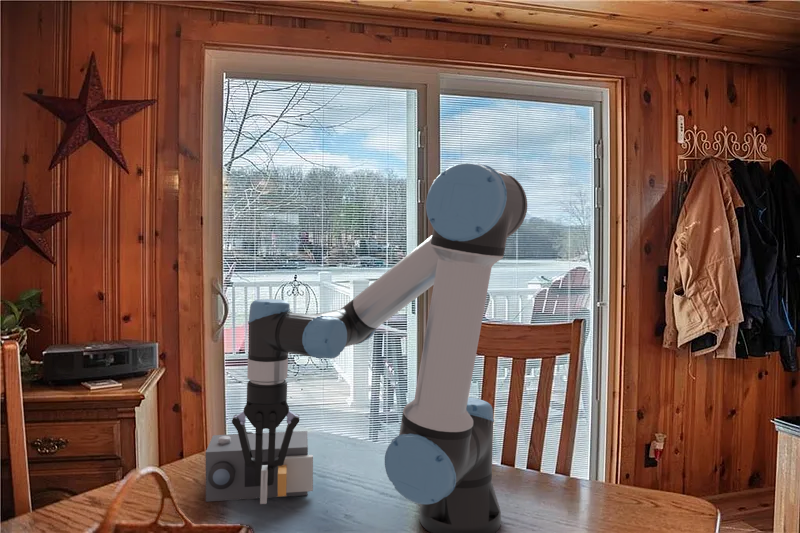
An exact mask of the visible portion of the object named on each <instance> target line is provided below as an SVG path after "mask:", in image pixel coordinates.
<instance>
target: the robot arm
mask: <svg viewBox="0 0 800 533" xmlns="http://www.w3.org/2000/svg"><path fill="white" fill-rule="evenodd" d="M427 192H428V193H427V196H426V200H425V209H426V217H427V219H428V221H429V223H430V224H431V227H432V233H431V235H430V236H429V237H428V238H426V239H425V240H424V241H423V242H422V243H420V244H419V245H418V246H417V247H415V248H414V249H413V250H412V251H411V252H409V253H408V254H407V255H405V257H403V258H402V259H400V261H398V262H397V263H395V265H393V266H392V267H391V268H389V269H388V270H387V271H386V272H384V273H383V274H382V275H381V276H380V277H378V278H377V279H376V280H375V281H373V283H371V284H369V286H367V287H366V288H365V289H364V290H363V291H361V292H360V293H359V294H358V295H356V296H355V297H354V298H353V299H352V300H350V301H349V302H348V303H347V304H345V305H344V306H343V307H341V308H339V309H335V310H329V311H324V312H319V313H311V314H309V313H300V312H299V313H298V312H297V313H296V312H292V311H291V309H290V308H291V306H290V302H289V301H288V300H286V299H281V298H279V299H278V298H275V299H274V298H263V299H262V298H260V299H256V300H253V301H252V302H251V303H250V306H249V313H248V314H249V315H248V316H249V317H248V321H247V323H248V324H247V325H248V355H247V372H246V374H247V375H246V376H247V379H248V381H247V383H246V404H245V406H244V408H243V411H241V412H240V413H238V414H234V415H233V417H232V419H231V424H232V425H233V426H234V428H235V429H236V430H237V434H238V435H239V439H240V444H241V448H242V452H243V456H244V460H245V464H246V466H247V467H253V468H254V469H255V485H261V494H260V498H259V505H267V503H268V498H267V494H268V485H273V482H274V468H275V467H277V466H282V465H283V464H284V460H285V457H286V453H287V450H288V447H289V443H290V440H291V436H292V433H293V432H294V429H295V428H296V427H297V426H298V424H299V423H300V414H299V413H294V412H293V411H291V410H290V407H289V406H290V405H288V382H287V380H286V379H287V378H288V373H289V372H288V370H289V369H288V366H289V354H294V355H301V356H307V357H312V358H316V359H335V358H337V357H339V356H340V355H341V352H343V351H344V350H345V348H346V347H349V346H354V345H358V344H359V345H360V344H362V343H364V342H365V341H367V340H369V339H370V338H372V337H373V336H374V334H375V333H376V329H377V328H379V327H380V326H381V325H383V324H384V323H385V322H387V321H388V320H390V319H391V318H392V317H393V316H395V315H396V314H397V313H399V312H401V310H402V309H404V308H405V307H407V305H409V304H411V303H412V302H413V301H415V300H416V299H417V298H418V297H419V296H421V295H422V294H424V293H425V292H427V290H429V289H430V288H432V287H433V288H432V292H431V299H430V304H429V311H428V317H427V322H426V329H425V333H424V334H425V335H424V341H423V346H422V353H421V357H420V364H419V371H418V374H417V375H418V377H417V382H416V388H415V394H414V399H413V400H412V401H409V403H407V404H406V405H405V406H404V407H403V410H402V416H401V422H400V428H399V433H398V435H397V436H396V437H394V438H393V439H392V440H391V442H390V443H389V445H388V446H387V448H386V451H385V454H384V468H385V472H386V476H387V477H388V480H389V482H391V483H392V485H393V486H394V489H395V490H396V491H397V493H399V495H401V496H402V497H403V498H404V499H406V500H408V501H410V502H413V503H415V504H419V522H420V525H421V526H422V527H423V528H424V529H425V530H426V531H428V532H430V533H497V532H498V530H500V527H501V522H502V513H501V512H502V511H501V507H500V504H499V500H498V497H497V494H496V492H495V491H496V490H495V488H494V483H493V477H492V476H493V445H494V444H493V442H494V441H493V440H494V438H493V437H494V423H495V419H494V410H493V406H492V404H491V403H489V402H488V401H486V400H483V399H479V398H475V397H469V396H470V390H471V384H472V380H473V373H474V368H475V363H476V357H477V351H478V347H479V346H478V345H479V342H480V341H479V340H480V335H481V329H482V324H483V318H484V312H485V306H486V302H487V296H488V289H489V286H490V285H489V284H490V279H491V273H492V267H493V266H494V265H495V264H496V263H498V262H499V261H501V260H502V259H503V258H504V257H505V250H506V245H507V239H508V238H509V237H510V236H512V235H513V234H515V233H516V232H517V231H518V230H519V228H520V227H521V226H522V224H523V223H524V221H525V218H526V217H527V213H528V199H527V194H526V192H525V190H524V187H523V185H522V184H521V182H520V181H518V180H517V179H516V178H515V177H513V176H512V175H510V174H509V173H506V172H504V171H499V170H497V169H495V168H493V167H491V166H489V165H486V164H481V163H473V162H472V163H471V162H465V163H458V164H455V165H454V164H453V165H452V166H450V167H448V168H446V169H445V170H443V172H441V173H439V175H437V177H436V178H435V179H434V180H433V182H432V183H431V186H430V187H429V189H428V191H427ZM246 418H247V419H248V421H249V423H250V425H252V427H253V428H255V433H256V444H255V458H253V457H252V452H251V448H250V444H249V440H248V436H247V432H248V431H247V428H246V421H247V420H246ZM285 418H286V424H287V425H286V429H285V431H284V432H285V435H284V438H283V442H282V445H281V448H280V452H279V455H278V457H277V458H275V438H276V432H277V428H278V427H279V426H280V424H282V422H284V420H285ZM264 429H267V430H268V433H269V444H268V465H262V454H263V433H264Z"/></svg>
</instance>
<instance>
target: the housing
mask: <svg viewBox="0 0 800 533" xmlns="http://www.w3.org/2000/svg"><path fill="white" fill-rule="evenodd" d="M284 435H285V431H279V432H277V431H276V438H275V458H277V457H278V455H279V452H280V448H281V445H282V442H283V438H284ZM247 436H248V440H249V444H250V448H251V452H252V457H253V458H255V444H256V432H252V434H247ZM308 440H309V439H308V431H307V430H301V431H293V433H292V436H291V440H290V443H289V447H288V450H287V453H286V456H299V455H309V454H308V452H309V451H308V450H309V444H308ZM268 444H269V432H263V454H262V465H268ZM308 492H309V491H305V492H289V493H286V496H278V466H277V467H275V468H274V482H273V485H268V494H267V499H269V498H281V497H282V498H284V497H285V498H286V497H300V496H301V497H302V496H308V494H309V493H308ZM260 494H261V485H255V469H254V468H253V467H247V466H246V464H245V460H244V456H243V452H242V448H241V444H240V439H239V435H238V433H236V434H235V433H234V434H230V433H229V434H213V435H212V437H211V439H210V441H209V444H208V446H207V448H206V450H205V502H206V503H207V502H208V503H209V502H219V501H220V502H221V501H222V502H223V501H235V500H236V501H237V500H251V499H252V500H253V499H255V500H256V499H260Z"/></svg>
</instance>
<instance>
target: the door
mask: <svg viewBox="0 0 800 533" xmlns="http://www.w3.org/2000/svg"><path fill="white" fill-rule="evenodd" d="M305 491H308V492H313V491H314V455H313V454H308V455H299V456H286V457H285V460H284V464H283V465H282V466H278V496H286V493H289V492H305Z"/></svg>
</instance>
